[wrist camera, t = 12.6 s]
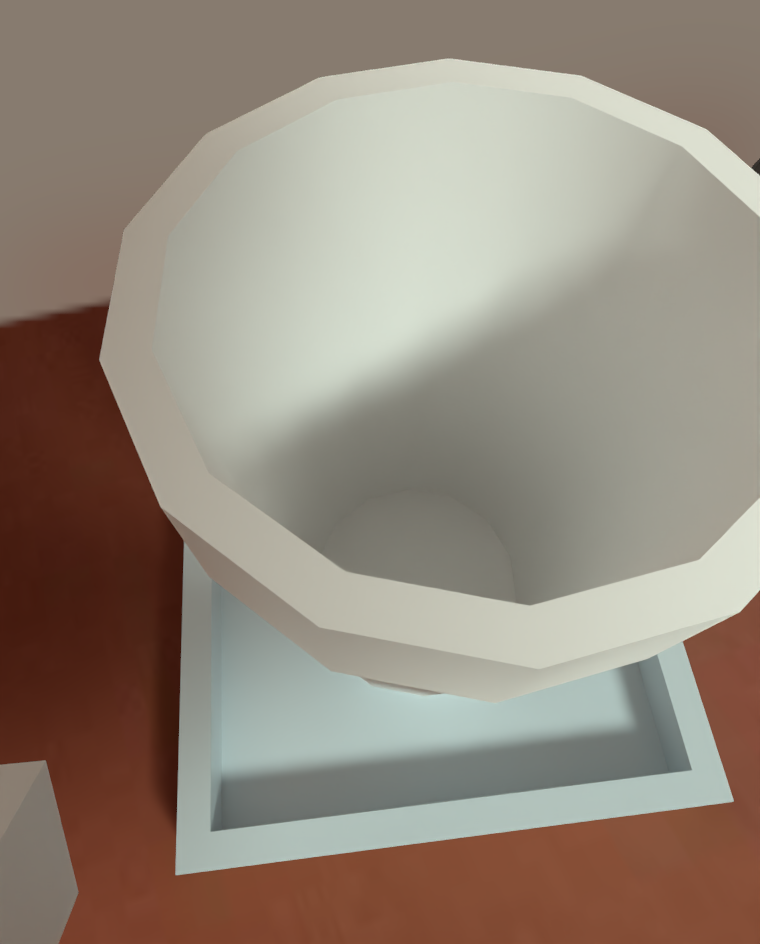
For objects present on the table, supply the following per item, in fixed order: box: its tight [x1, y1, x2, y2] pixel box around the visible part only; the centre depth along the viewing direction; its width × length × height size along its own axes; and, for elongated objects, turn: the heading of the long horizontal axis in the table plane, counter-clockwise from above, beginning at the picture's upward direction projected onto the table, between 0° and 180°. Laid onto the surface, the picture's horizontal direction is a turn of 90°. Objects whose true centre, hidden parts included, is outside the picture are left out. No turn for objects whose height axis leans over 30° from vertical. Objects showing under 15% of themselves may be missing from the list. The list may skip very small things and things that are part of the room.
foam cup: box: [99, 59, 760, 703], centre depth 14 cm, size 10×9×13 cm
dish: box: [176, 542, 734, 875], centre depth 20 cm, size 14×14×2 cm
